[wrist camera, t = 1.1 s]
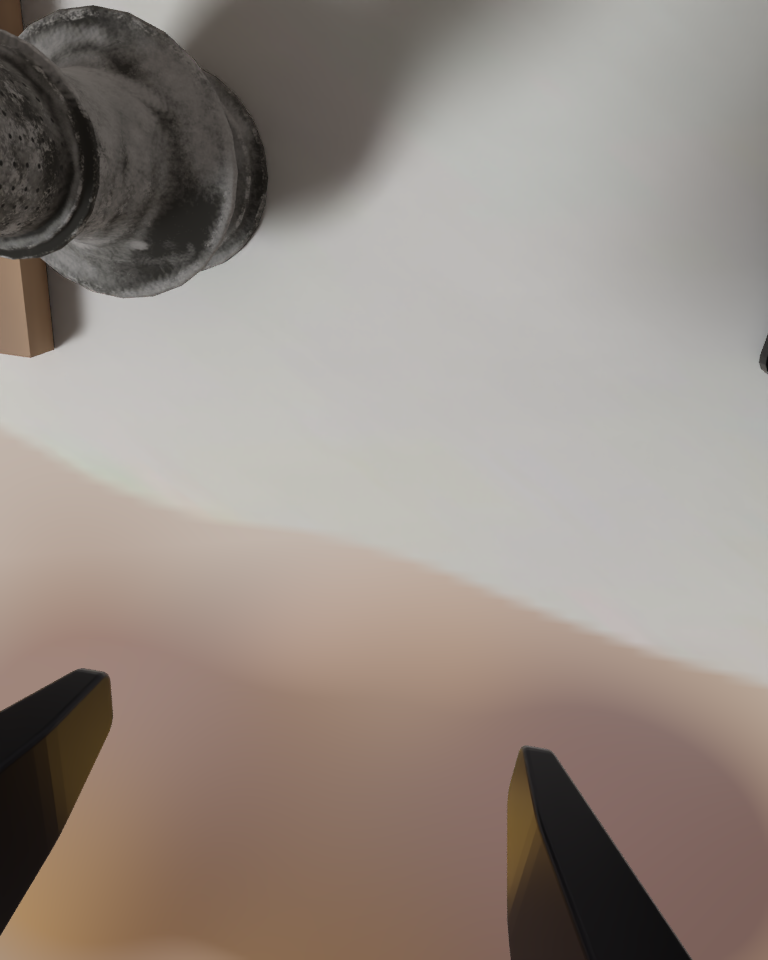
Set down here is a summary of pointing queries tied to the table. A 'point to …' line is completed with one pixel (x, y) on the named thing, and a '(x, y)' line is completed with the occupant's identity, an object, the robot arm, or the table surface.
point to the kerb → (23, 270)
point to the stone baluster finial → (121, 155)
